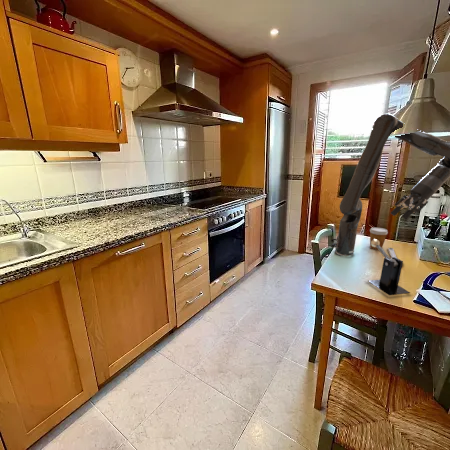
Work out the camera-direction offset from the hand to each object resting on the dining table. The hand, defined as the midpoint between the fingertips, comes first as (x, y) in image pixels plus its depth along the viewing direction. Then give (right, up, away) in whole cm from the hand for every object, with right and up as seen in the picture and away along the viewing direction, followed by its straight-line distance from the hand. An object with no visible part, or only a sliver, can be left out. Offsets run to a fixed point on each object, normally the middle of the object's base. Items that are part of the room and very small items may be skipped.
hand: (397, 216), depth 110 cm
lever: (-9, -17, -2) cm, 20 cm away
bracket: (-8, -32, -5) cm, 33 cm away
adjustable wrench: (+17, -23, +27) cm, 39 cm away
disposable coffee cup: (+15, -18, +41) cm, 47 cm away
